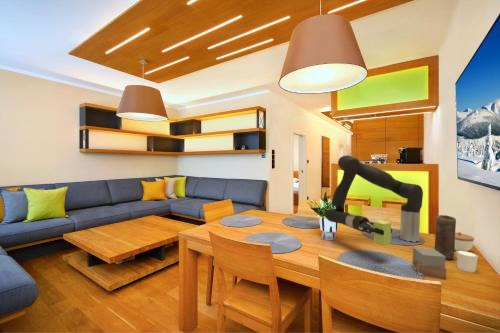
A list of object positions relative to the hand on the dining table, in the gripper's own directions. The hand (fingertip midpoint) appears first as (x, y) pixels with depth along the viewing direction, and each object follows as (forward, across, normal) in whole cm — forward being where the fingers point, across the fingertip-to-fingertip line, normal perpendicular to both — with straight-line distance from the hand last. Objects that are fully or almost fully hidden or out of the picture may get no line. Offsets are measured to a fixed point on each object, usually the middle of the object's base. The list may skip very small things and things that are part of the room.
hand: (387, 232), depth 103 cm
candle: (+6, +31, +15) cm, 36 cm away
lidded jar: (+4, +49, +16) cm, 52 cm away
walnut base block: (+12, +8, +15) cm, 21 cm away
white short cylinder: (+17, +26, +15) cm, 35 cm away
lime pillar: (-3, 0, +6) cm, 7 cm away
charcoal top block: (+12, +8, +10) cm, 18 cm away
